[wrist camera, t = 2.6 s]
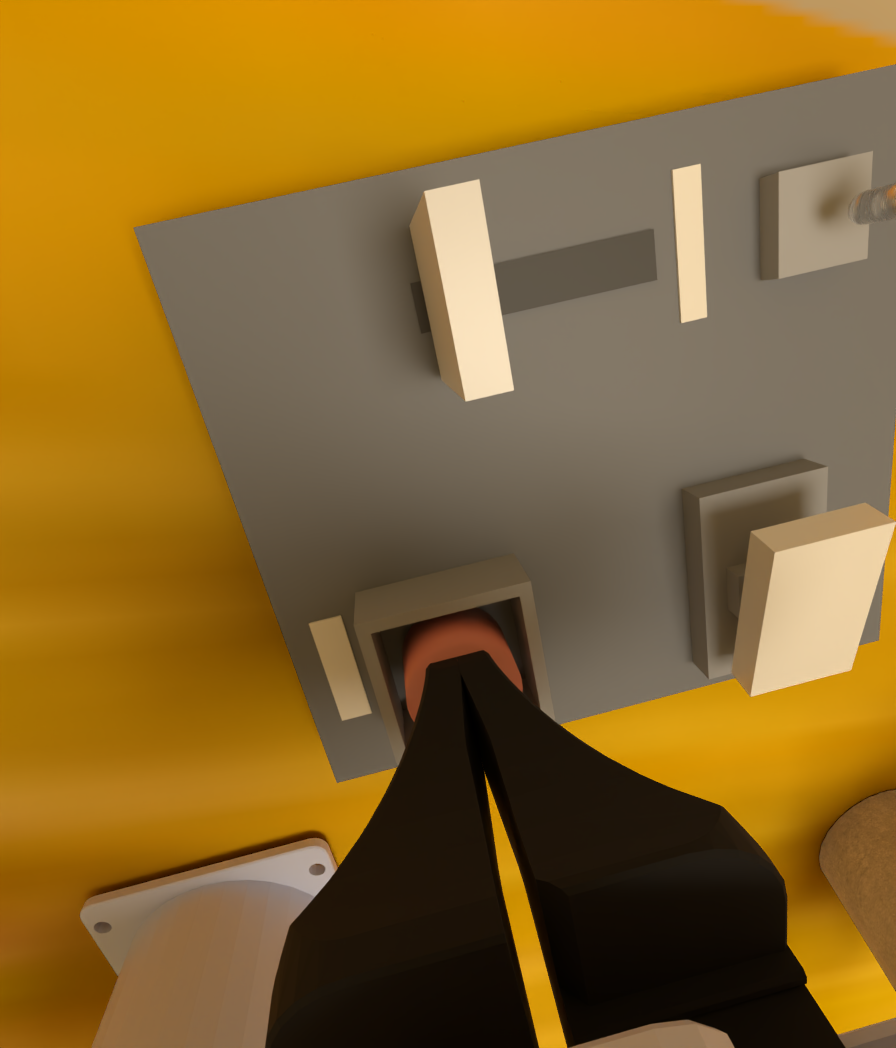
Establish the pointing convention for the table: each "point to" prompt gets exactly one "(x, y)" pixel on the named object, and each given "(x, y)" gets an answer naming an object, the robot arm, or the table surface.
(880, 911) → the house plant
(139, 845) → the table surface
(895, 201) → the steel toggle lever
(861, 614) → the block
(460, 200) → the tan flat upright block
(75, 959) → the table surface
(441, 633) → the red push button
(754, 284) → the switch panel
